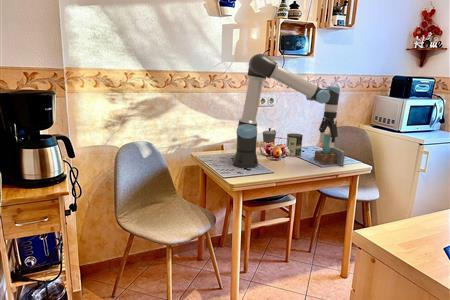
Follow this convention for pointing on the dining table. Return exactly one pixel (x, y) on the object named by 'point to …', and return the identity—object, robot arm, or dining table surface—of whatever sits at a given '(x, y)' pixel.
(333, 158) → the socket block
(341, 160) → the wall
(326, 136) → the dowel
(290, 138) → the coffee can
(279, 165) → the dining table surface
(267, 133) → the coffeepot
